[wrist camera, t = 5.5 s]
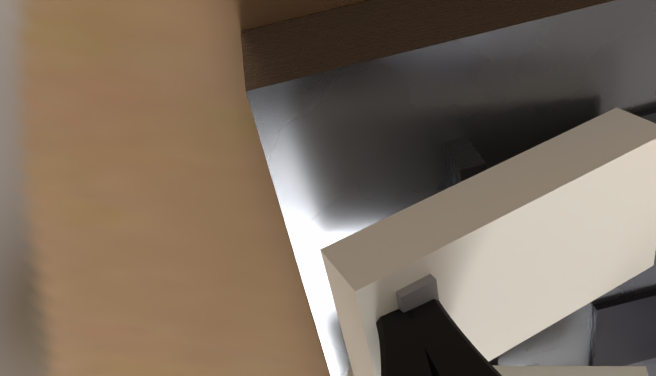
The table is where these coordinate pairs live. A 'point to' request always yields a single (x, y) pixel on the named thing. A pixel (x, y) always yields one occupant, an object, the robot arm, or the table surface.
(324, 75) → the grey slab
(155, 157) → the table surface
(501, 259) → the rocker
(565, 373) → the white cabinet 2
